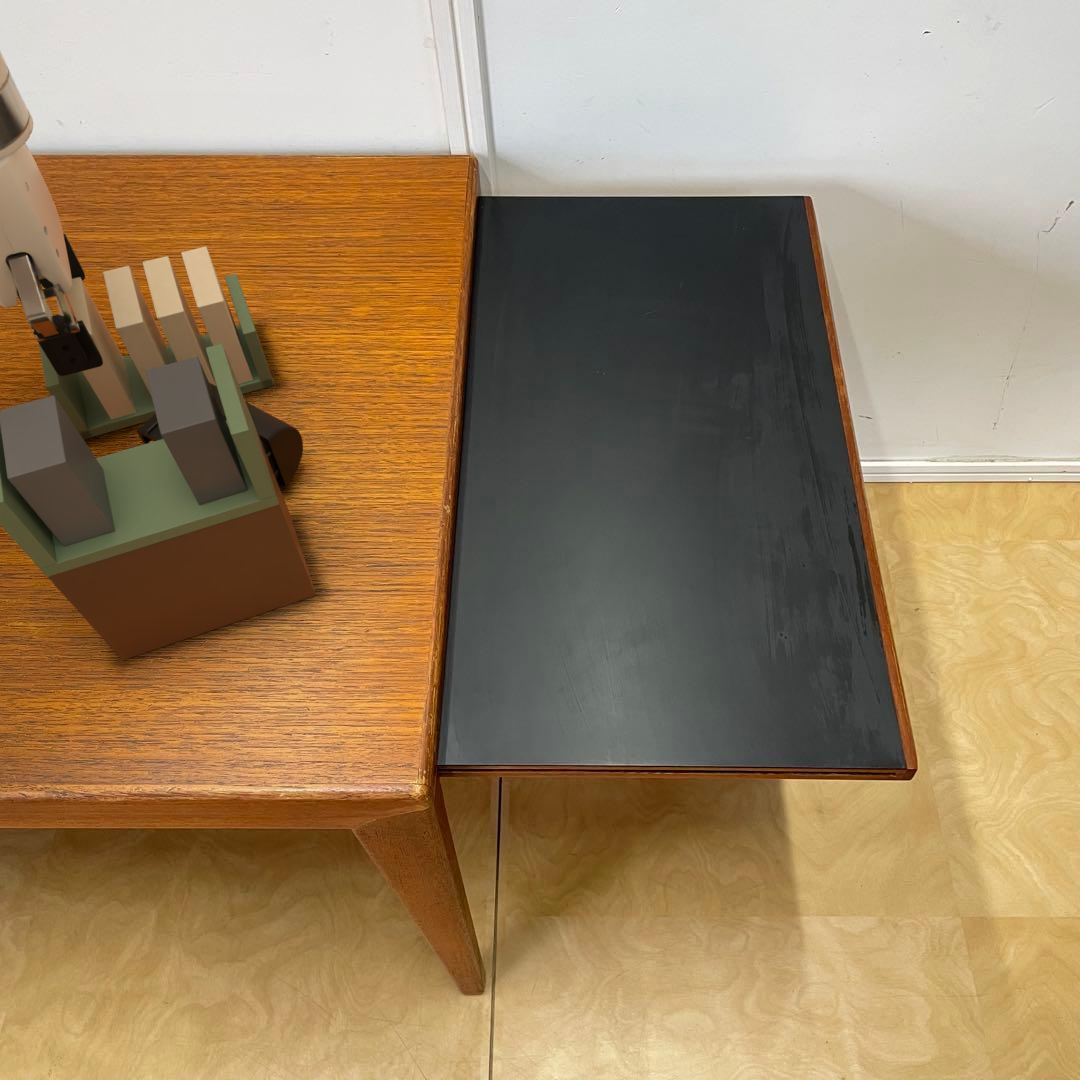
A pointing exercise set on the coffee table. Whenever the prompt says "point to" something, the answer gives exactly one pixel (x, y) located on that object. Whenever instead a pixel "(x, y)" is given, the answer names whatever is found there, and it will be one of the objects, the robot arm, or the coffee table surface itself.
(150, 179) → the coffee table surface
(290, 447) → the end cap
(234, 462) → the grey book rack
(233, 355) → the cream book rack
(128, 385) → the cream book
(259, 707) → the coffee table surface
